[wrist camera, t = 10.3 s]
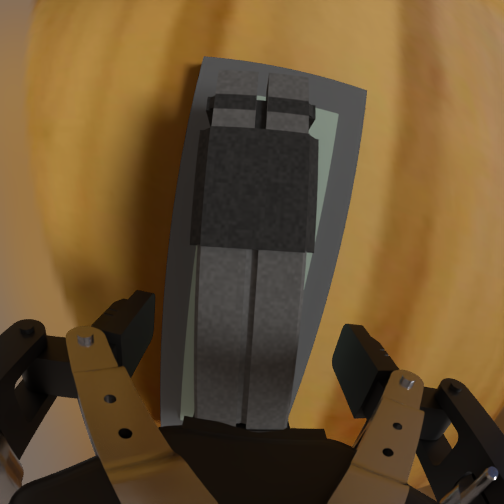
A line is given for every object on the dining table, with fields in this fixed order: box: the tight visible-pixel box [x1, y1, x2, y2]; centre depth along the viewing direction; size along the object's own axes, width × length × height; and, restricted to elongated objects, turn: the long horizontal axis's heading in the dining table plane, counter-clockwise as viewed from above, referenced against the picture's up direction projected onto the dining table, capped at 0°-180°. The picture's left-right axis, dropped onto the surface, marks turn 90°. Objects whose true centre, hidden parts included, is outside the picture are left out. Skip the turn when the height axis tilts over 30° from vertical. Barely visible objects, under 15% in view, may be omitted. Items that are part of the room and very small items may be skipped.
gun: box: [190, 70, 319, 433], centre depth 14 cm, size 4×20×10 cm, turn 176°
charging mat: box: [160, 57, 367, 427], centre depth 16 cm, size 25×9×1 cm, turn 170°
